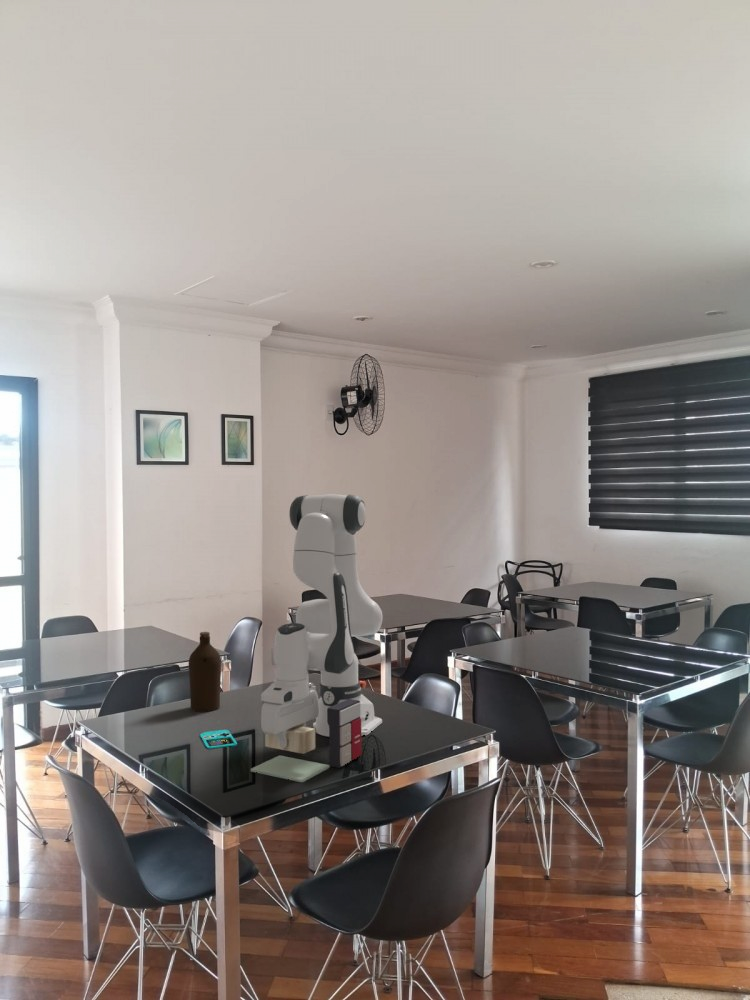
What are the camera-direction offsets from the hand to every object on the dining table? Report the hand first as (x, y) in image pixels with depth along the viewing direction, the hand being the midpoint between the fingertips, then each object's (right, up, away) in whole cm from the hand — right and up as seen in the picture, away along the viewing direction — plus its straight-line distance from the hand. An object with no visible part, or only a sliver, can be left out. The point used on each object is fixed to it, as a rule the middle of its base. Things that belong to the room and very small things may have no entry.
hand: (291, 743), depth 198 cm
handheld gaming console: (-24, -8, +26) cm, 36 cm away
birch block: (-6, +1, +3) cm, 7 cm away
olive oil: (-35, -7, +60) cm, 70 cm away
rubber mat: (0, -7, +1) cm, 7 cm away
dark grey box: (+13, -7, +6) cm, 16 cm away
